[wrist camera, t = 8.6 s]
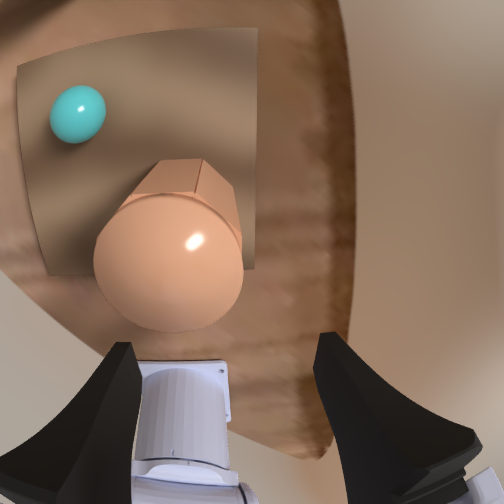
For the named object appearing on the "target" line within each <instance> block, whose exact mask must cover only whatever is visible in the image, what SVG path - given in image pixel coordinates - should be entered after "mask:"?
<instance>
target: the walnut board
mask: <svg viewBox="0 0 504 504" xmlns="http://www.w3.org/2000/svg"><path fill="white" fill-rule="evenodd" d="M257 43H258V28H244V27H219V28H194V29H180V30H169V31H159V32H151V33H144V34H137V35H131V36H125V37H119V38H114V39H109V40H104V41H99V42H95V43H91V44H86V45H82V46H78V47H75V48H71V49H67V50H64V51H60V52H57V53H54V54H50V55H47V56H44V57H41V58H38V59H35V60H32V61H30V62H27V63H24V64H21V65H19V66H17V107H18V123H19V135H20V144H21V153H22V160H23V167H24V174H25V180H26V186H27V191H28V196H29V201H30V206H31V211H32V215H33V220H34V224H35V228H36V232H37V236H38V240H39V243H40V247H41V251H42V254H43V258H44V261H45V264H46V267H47V271H48V274H49V276H71V275H95V272H94V261H93V258H94V250H95V246H96V243H97V241H96V239H97V236H98V235H99V234H100V232H101V231H102V230H103V228H104V227H105V226H106V225H107V223H108V222H109V221H110V219H111V218H112V217H113V216H114V214H115V213H116V212H117V210H118V209H119V208H120V207H121V205H122V204H123V203H124V202H125V201H126V199H127V198H128V197H129V196H130V194H131V193H132V192H133V191H134V190H135V188H136V187H137V186H138V185H139V184H140V183H141V181H142V180H143V179H144V178H145V177H146V176H147V175H148V173H149V172H150V171H151V170H152V169H153V168H154V167H155V166H156V164H157V163H158V162H159V161H161V160H176V159H202V160H203V159H204V160H205V161H206V162H207V163H208V164H209V165H210V166H211V167H212V168H214V169H215V170H216V171H217V172H218V173H219V174H220V175H221V176H222V177H223V178H224V179H225V180H226V181H227V182H228V183H229V184H230V185H232V186H233V190H234V195H235V200H236V206H237V211H238V216H239V221H240V227H241V232H242V261H243V270H249V269H254V258H255V194H256V123H257ZM78 85H85V86H89V87H92V88H94V89H95V90H97V91H98V92H99V93H100V94H101V95H102V97H103V99H104V101H105V105H106V116H105V120H104V123H103V125H102V127H101V129H100V130H99V131H98V132H97V134H96V135H94V136H93V137H92V138H91V139H89V140H87V141H85V142H82V143H76V144H72V143H67V142H64V141H62V140H60V139H59V138H58V137H57V136H56V135H55V134H54V133H53V131H52V129H51V126H50V120H49V116H50V110H51V107H52V105H53V103H54V101H55V99H56V98H57V97H58V96H59V95H60V94H61V93H62V92H63V91H65V90H66V89H68V88H70V87H73V86H78Z"/></svg>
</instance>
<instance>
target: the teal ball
mask: <svg viewBox="0 0 504 504" xmlns="http://www.w3.org/2000/svg"><path fill="white" fill-rule="evenodd" d="M105 116H106V105H105V101H104V99H103V97H102V95H101V94H100V93H99V92H98V91H97V90H95V89H94V88H92V87H89V86H85V85H78V86H73V87H70V88H68V89H66V90H65V91H63V92H62V93H61V94H60V95H59V96H58V97H57V98H56V99H55V101H54V103H53V105H52V107H51V110H50V116H49V120H50V126H51V129H52V131H53V133H54V134H55V135H56V136H57V137H58V138H59V139H60V140H62V141H64V142H67V143H72V144H76V143H82V142H85V141H87V140H89V139H91V138H92V137H93V136H94V135H96V134H97V132H98V131H99V130H100V129H101V127H102V125H103V123H104V120H105Z"/></svg>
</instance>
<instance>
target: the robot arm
mask: <svg viewBox="0 0 504 504" xmlns="http://www.w3.org/2000/svg"><path fill="white" fill-rule="evenodd" d="M220 369H222V370H220ZM313 371H314V375H315V380H316V384H317V389H318V392H319V395H320V398H321V400H322V403H323V406H324V409H325V411H326V414H327V417H328V419H329V422H330V425H331V428H332V430H333V433H334V436H335V439H336V443H337V446H338V451H339V455H340V460H341V464H342V469H343V474H344V479H345V486H346V492H347V498H348V504H504V491H503V489H502V487H501V485H500V482H499V480H498V478H497V476H496V474H495V472H494V470H493V468H492V467H491V466H490V467H488V468H486V469H485V470H483V471H481V472H480V473H478V474H476V475H475V476H473V477H471V478H470V479H468V480H467V481H465V480H464V478H463V476H465V475H466V472H465V470H464V467H465V466H466V465H467V464H468V463H469V462H470V461H471V460H472V459H474V458H475V457H476V456H477V455H478V454H479V453H480V452H481V450H482V447H483V446H482V444H481V442H480V440H479V439H478V437H477V435H476V433H475V432H474V430H473V429H471V428H468V427H465V426H462V425H460V424H457V423H454V422H452V421H449V420H447V419H445V418H443V417H440V416H438V415H436V414H434V413H432V412H430V411H429V410H427V409H425V408H423V407H422V406H420V405H418V404H416V403H415V402H413V401H412V400H410V399H409V398H407V397H406V396H405V395H403V394H402V393H400V392H399V391H398V390H396V389H395V388H394V387H392V386H391V385H389V384H388V383H387V382H386V381H385V380H384V379H383V378H381V377H380V376H379V375H378V374H377V373H376V372H375V371H374V370H372V368H370V367H369V366H368V365H367V364H366V363H365V362H364V361H363V360H362V359H361V358H360V357H359V356H358V355H357V354H356V353H355V352H354V351H353V350H352V349H351V348H350V347H349V346H348V344H347V343H346V342H345V341H344V340H343V339H342V338H341V337H340V336H339V335H338V334H337V333H336V332H327V333H320V337H319V342H318V347H317V351H316V356H315V361H314V366H313ZM141 394H142V395H143V399H142V405H141V412H140V419H139V426H138V434H137V442H136V450H135V459H134V460H132V461H131V458H132V448H133V441H134V436H135V430H136V424H137V418H138V414H139V408H140V403H141ZM230 421H231V414H230V401H229V388H228V374H227V363H226V362H225V361H222V360H216V361H178V362H153V361H137V359H136V356H135V353H134V350H133V347H132V344H131V342H116V343H115V344H114V345H113V347H112V348H111V350H110V351H109V352H108V354H107V355H106V357H105V358H104V359H103V361H102V362H101V363H100V365H99V366H98V368H97V369H96V370H95V372H94V373H93V374H92V376H91V377H90V378H89V380H88V381H87V382H86V384H85V385H84V386H83V387H82V388H81V390H80V391H79V392H78V393H77V394H76V396H75V397H74V398H73V399H72V400H71V401H70V402H69V404H68V405H67V406H66V407H65V408H64V409H63V410H62V411H61V412H60V413H59V414H58V415H57V416H56V417H55V418H54V419H53V420H52V421H51V422H49V423H48V424H47V425H46V426H45V427H44V428H42V429H41V430H40V431H39V432H38V433H36V434H35V435H34V436H33V437H31V438H30V439H28V440H27V441H25V442H24V443H23V444H21V445H20V446H18V447H16V448H15V449H13V450H11V451H9V452H8V453H6V454H4V455H2V456H1V457H0V494H2V495H3V496H5V497H6V498H8V499H9V500H11V501H12V502H14V503H15V504H259V500H258V498H257V496H256V494H255V492H254V491H253V490H252V489H251V488H250V487H249V486H248V485H247V484H246V483H242V482H238V474H237V471H230V463H229V451H228V438H227V425H226V422H230ZM0 504H3V503H0Z"/></svg>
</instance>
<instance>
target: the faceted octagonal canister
mask: <svg viewBox="0 0 504 504" xmlns="http://www.w3.org/2000/svg"><path fill="white" fill-rule="evenodd" d="M96 241H97V243H96V246H95V250H94V258H93V261H94V272H95V277H96V280H97V283H98V286H99V288H100V290H101V292H102V293H103V295H104V297H105V298H106V300H107V301H108V302H109V303H110V305H111V306H112V307H113V308H114V309H115V310H116V311H117V312H118V313H120V314H121V315H122V316H123V317H125V318H126V319H128V320H130V321H131V322H133V323H135V324H137V325H139V326H141V327H144V328H147V329H150V330H154V331H159V332H165V333H183V332H189V331H194V330H198V329H201V328H203V327H206V326H208V325H210V324H212V323H214V322H215V321H217V320H218V319H219V318H221V317H222V316H223V315H224V314H225V313H226V312H228V310H229V309H230V308H231V307H232V306H233V304H234V302H235V301H236V299H237V297H238V295H239V293H240V290H241V286H242V282H243V261H242V232H241V227H240V221H239V216H238V211H237V206H236V200H235V195H234V190H233V186H232V185H230V184H229V183H228V182H227V181H226V180H225V179H224V178H223V177H222V176H221V175H220V174H219V173H218V172H217V171H216V170H215V169H214V168H212V167H211V166H210V165H209V164H208V163H207V162H206V161H205V160H204V159H203V160H202V159H176V160H161V161H159V162H158V163H157V164H156V166H155V167H154V168H153V169H152V170H151V171H150V172H149V173H148V175H147V176H146V177H145V178H144V179H143V180H142V181H141V183H140V184H139V185H138V186H137V187H136V188H135V190H134V191H133V192H132V193H131V194H130V196H129V197H128V198H127V199H126V201H125V202H124V203H123V204H122V205H121V207H120V208H119V209H118V210H117V212H116V213H115V214H114V216H113V217H112V218H111V219H110V221H109V222H108V223H107V225H106V226H105V227H104V228H103V230H102V231H101V232H100V234H99V235H98V236H97V239H96Z"/></svg>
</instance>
